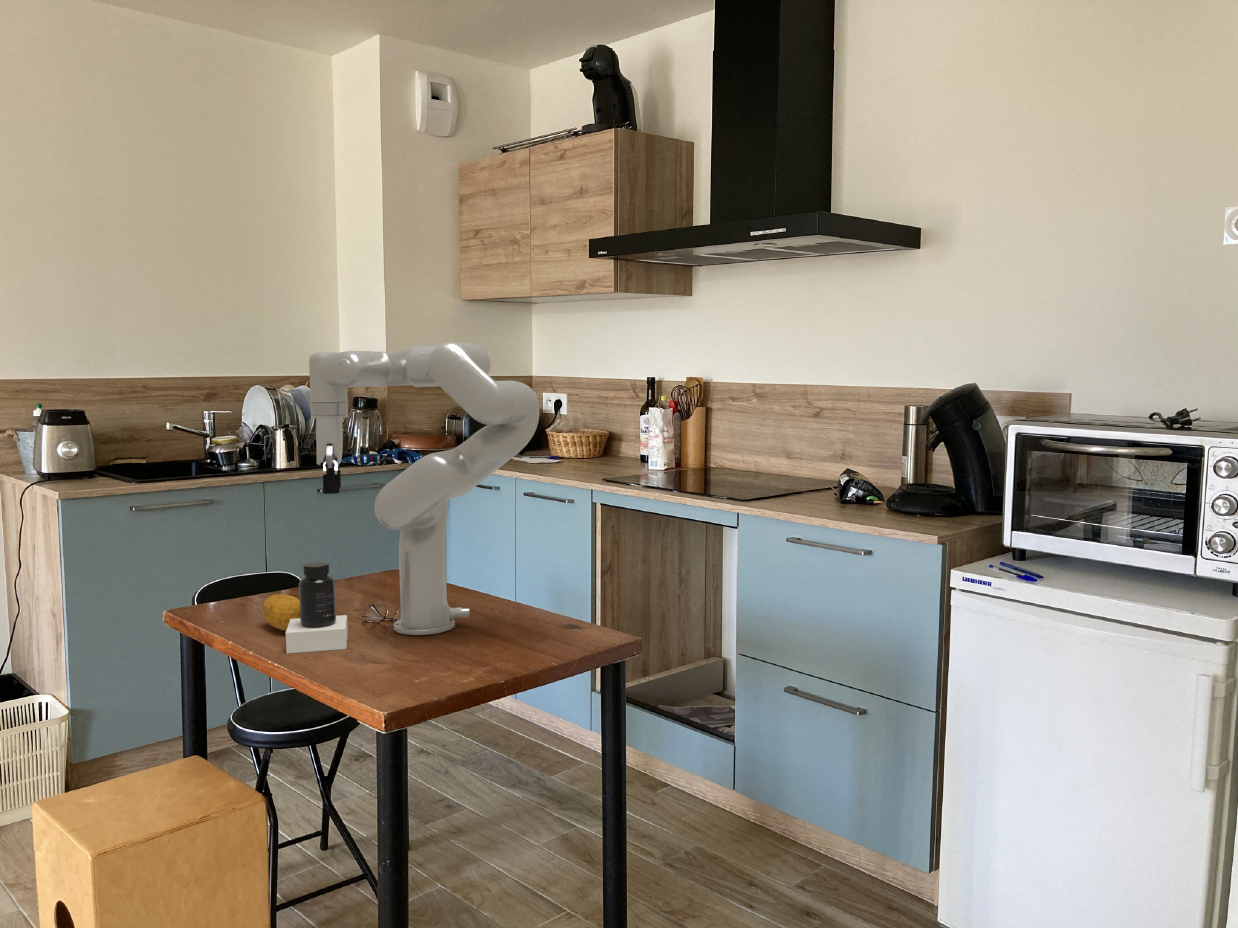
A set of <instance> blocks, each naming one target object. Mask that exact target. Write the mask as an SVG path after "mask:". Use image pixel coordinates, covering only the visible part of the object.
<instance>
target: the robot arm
mask: <svg viewBox="0 0 1238 928" xmlns="http://www.w3.org/2000/svg"><path fill="white" fill-rule="evenodd" d="M308 360H309V361H308V367H309V393H310V394H309V395H310V397H309V400H310V418H311V419H316V421H315V436H316V437H315V440H316V465H318V466H321V464H322V463H323V474H322V488H323V489H322V490H323V494H324V495H331V494H333V495H334V494H335V495H336V494H340V488H341V487H342V481H341V480H342V479H341V477H342V476H341V469H340V464H341V462H342V460H343V459H342V457H343V445H344V444H343V443H344V442H343V437H344V436H343V432H344V431H343V419H345V418H348V417H349V409H348V408H349V407H348V388H365V387H368V388H371V387H375V388H376V387H392V386H393V387H394V386H395V387H396V386H397V387H398V386H399V387H401V386H413V387H414V388H429V387H430V388H431V387H434V388H435V387H440V388H441V389H442V390H443V391H444V392H445V393H446V394H447V395H448V396H449V397H450V398H452V400H453V401H454V403H456V404H457V405H459V406H460V408H461V409H463V410H464V411H465V412H466V413H467V415H469V416H470V417H471V418H473V420H475V421H477V422H479V423H480V424H482V425H485V426H483V427H482V428H480V429H479V430H477V431H476V432H474V433H473V434H472V435H471V436H470V437H469V438H467V439H466V440H465V441H463V442H462V443H461V444H459V445H458V446H456V447H453V448H451V449H448V450H443V451H438V452H431V453H429V454H427V455H424V456H422V457H421V458H419V459H417V460H416V461H415V462H413V463H412V464H411V465H409V466H408V467H407V468H405V470H403V471H402V472H400V473H399V474H398V475H397V476H396V477H394V478H393V479H391V480H390V481H389V482H387V483H386V484H385V485H384V486H383V487H382V488H381V489H380V490H379V491H378V493H377V495H376V497H375V500H374V505H373V506H374V510H373V511H374V515H375V517H376V519H377V520H378V522H379V523H380V525H382V526H384V527H385V528H387V529H389V530H392V531H393V530H394V531H400V534H399V541H398V568H399V569H398V570H399V571H398V572H399V598H400V599H399V601H400V619H398V620H396V621H395V622H394V623H393V630H394V631H395V632H396V633H399V634H402V635H408V636H409V635H410V636H425V635H426V636H427V635H429V636H430V635H436V634H440V633H445V632H447V631H450V630H452V629H453V628H455V626H456V621H455V618H458V619H459V618H460V619H462V618H470V607H468V608H466V607H465V608H463V607H462V606H459V607H458V606H457V607H452V606H449V602H448V600H447V598H448V597H447V593H448V592H447V568H446V567H447V563H446V561H447V560H446V559H447V558H446V555H447V554H446V552H447V551H446V549H447V548H446V537H447V536H446V531H447V519H448V514H449V499H454V498H459V497H461V496H464V495H466V494H468V493H470V492H471V491H472V490H474V489H475V488H476V487H477V486H478V485H479V484H480V483H482V482H483V481H484V480H485V479H488V477H490V476H491V475H493V473H495V472H496V471H497V470H498V469H500V468H501V467H502V466H503V465H505V464H506V463H507V462H508V461H510V460H512V459H513V458H514V457H515V456H516V455H518V454H519V453H520V452H521V451H523V449H524V448H525V447H526V446H527V445H528V443H529V442H530V441H531V440H532V438H533V436H534V435H535V432H536V430H537V427H538V424H539V421H540V404H539V400H538V397H537V395H536V393H535V391H534V390H533V388H532V387H530V386H529V385H527V384H526V383H523V382H521V381H517V380H495V379H493V378H492V376H490V375H489V373H490V370H491V360H490V357H489V354H488V352H487V351H486V350H485V349H484V348H483V347H482V346H480V345H478V344H475V343H473V342H459V341H457V342H455V341H449V342H443V343H441V344H426V345H425V344H423V345H422V344H418V345H413V346H411V347H410V348H409V349H406V350H392V351H391V350H390V351H373V350H372V351H371V350H345V351H341V352H340V351H339V352H314V353H312V354H311V355H310V356H309V359H308Z"/></svg>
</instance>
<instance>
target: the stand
mask: <svg viewBox="0 0 1238 928" xmlns="http://www.w3.org/2000/svg"><path fill="white" fill-rule="evenodd" d="M348 627H349V626H348V615H347V614H344V615H343V614H342V615H336V622H335V623H334V624H332V625H330V626H326V627H320V628H308V627H304V626H302V625H301V622H300V618H297V619H290V622H289V625H288V628H287V631H286V632H285V647H286V648H285V649H286V651H285V652H286V654H297V653H299V654H301V653H310V652H311V653H312V652H324V651H325V652H326V651H337V650H338V651H339V650H346V649H347V645H348V634H349V633H348V632H349V631H348Z"/></svg>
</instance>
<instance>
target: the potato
mask: <svg viewBox="0 0 1238 928" xmlns="http://www.w3.org/2000/svg"><path fill="white" fill-rule="evenodd" d="M261 610H262V615H263V618H264V619H265V621H266V622H267V623H268V624H269V625H270V626H271V627H273V628H274V629H275V628H276V629H278V630H280V631H284V632H285V633H286V631H287V628H288V625H289V622H290V619H297V618H300V602H299V598H298V597H295V596H293V595H288V594H285V593H279V594H272V595H270V596H269V597H267V598H266V599H265V600H264V601H263V603H262V609H261Z"/></svg>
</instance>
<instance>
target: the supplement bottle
mask: <svg viewBox="0 0 1238 928" xmlns="http://www.w3.org/2000/svg"><path fill="white" fill-rule="evenodd" d="M330 572H331V571H330V564H329V563H328V562H324V561H318V562H317V561H315V562H308V563H305V564H303V572H302V574H303V575H304V577H303V578H301V579H300V581H299V583H298V597H299V598H298V599H299V602H300V622H301V625H302V626H304V627H308V628H320V627H326V626H330V625H332V624H334V623H335V622H336V616H337V606H336V604H337V602H336V601H337V600H336V582H335V579H334V578H333V577H332V576H330V575H329V574H330Z"/></svg>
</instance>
